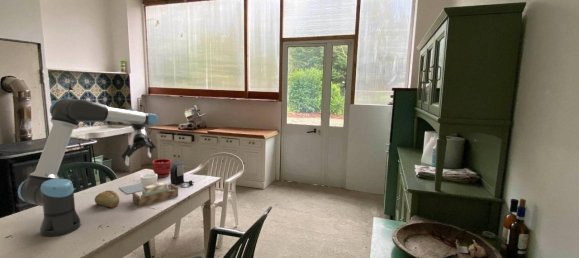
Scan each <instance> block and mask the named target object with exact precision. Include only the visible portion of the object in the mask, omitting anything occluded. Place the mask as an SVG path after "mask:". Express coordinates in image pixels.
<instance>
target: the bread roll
mask: <svg viewBox="0 0 579 258" xmlns="http://www.w3.org/2000/svg"><path fill="white" fill-rule="evenodd" d="M94 203H95V204H97V205H100V206H104V207H107V208H116V207H117V206H118V205H119V203H120V197H119V195H118V194H117V192H116V191H114V190H105V191H102V192H100V193H99V192H98V194H97V195H96V196H95V198H94Z"/></svg>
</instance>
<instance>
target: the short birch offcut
mask: <svg viewBox="0 0 579 258" xmlns="http://www.w3.org/2000/svg"><path fill="white" fill-rule="evenodd" d="M167 187H168V184H167V183H166V182H164V181H162V182H159V183H158V182H157V184H153V185H149V186H145V187H144V191H145V192H147V193H148V192H152V191H156V190H160V189H164V188H167Z"/></svg>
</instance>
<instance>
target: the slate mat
mask: <svg viewBox="0 0 579 258" xmlns="http://www.w3.org/2000/svg"><path fill="white" fill-rule="evenodd" d="M118 189H119V190H120V191H122V193H125V194H126V195H130V194H132V193H135V194H136V193H139V192H142V191H143V187H142V182H139V183H134V184H130V185H127V186H121V187H118Z"/></svg>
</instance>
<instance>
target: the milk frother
mask: <svg viewBox="0 0 579 258" xmlns="http://www.w3.org/2000/svg"><path fill="white" fill-rule="evenodd" d="M170 164H171V169H170V171H169V172H170V174H169V177H170V184H173V185H175V186H178V185H182V184H189V185H192V184H194V181H193V180H189V181H185V177H184V176H185V175H184V161H171V163H170Z"/></svg>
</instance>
